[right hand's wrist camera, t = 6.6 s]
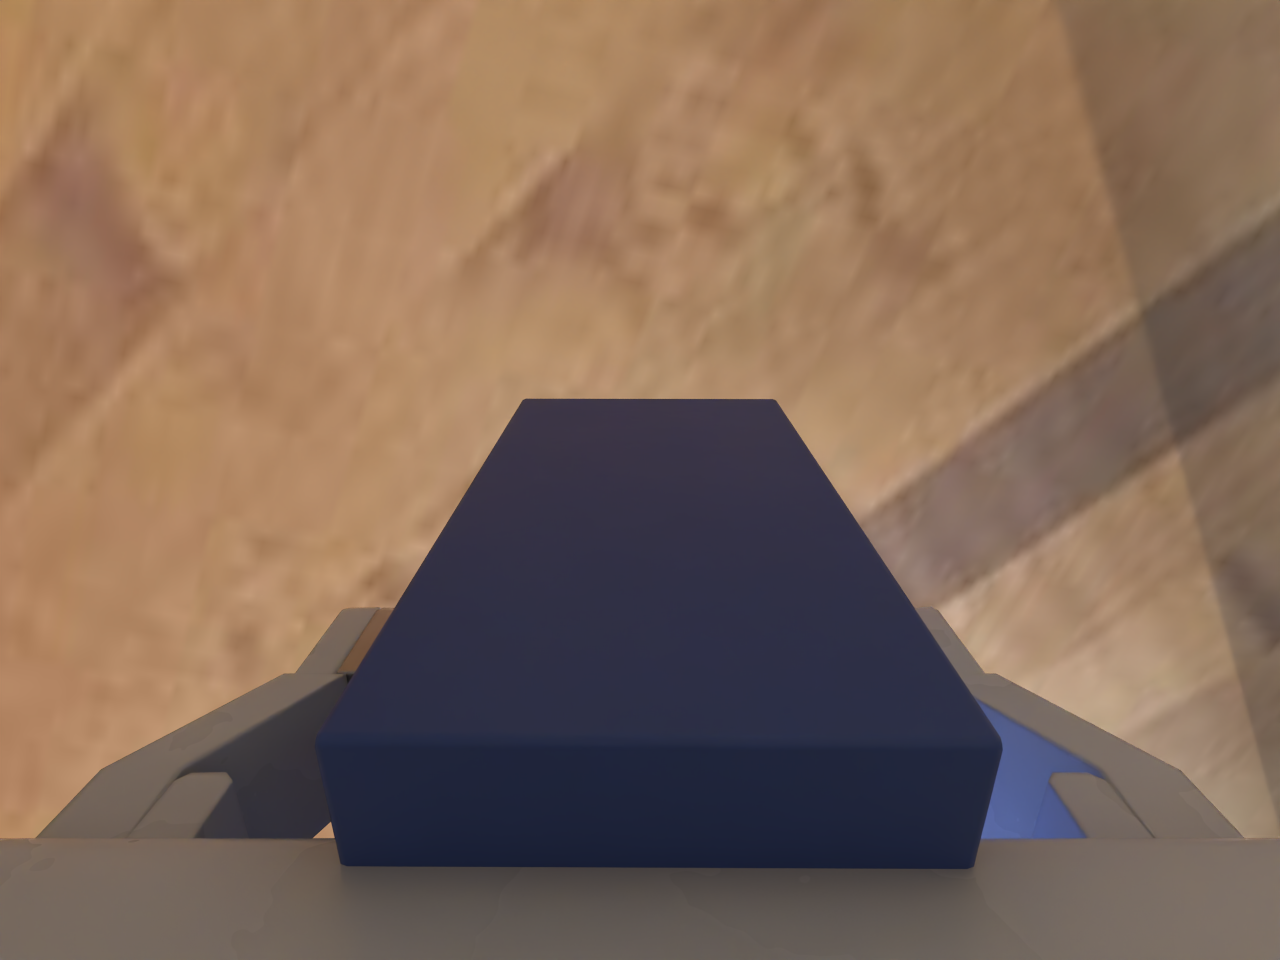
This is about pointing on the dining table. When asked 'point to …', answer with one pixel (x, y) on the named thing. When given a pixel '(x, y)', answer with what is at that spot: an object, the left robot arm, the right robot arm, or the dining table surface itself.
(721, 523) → the bar
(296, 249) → the dining table surface
